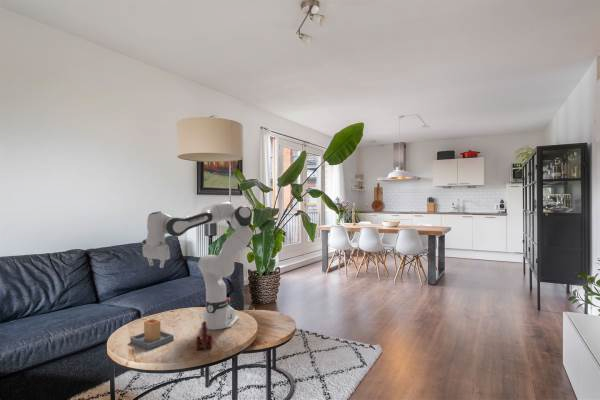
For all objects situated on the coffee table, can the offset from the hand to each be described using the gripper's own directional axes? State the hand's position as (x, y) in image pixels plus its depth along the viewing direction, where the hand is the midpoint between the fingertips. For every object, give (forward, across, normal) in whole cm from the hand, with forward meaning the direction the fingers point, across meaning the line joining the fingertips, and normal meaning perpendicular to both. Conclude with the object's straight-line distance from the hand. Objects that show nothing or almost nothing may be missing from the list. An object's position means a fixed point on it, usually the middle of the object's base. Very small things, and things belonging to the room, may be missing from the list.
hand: (156, 266), depth 189 cm
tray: (+34, -13, +11) cm, 38 cm away
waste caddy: (+33, -13, +11) cm, 37 cm away
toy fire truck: (+34, -40, +1) cm, 52 cm away
